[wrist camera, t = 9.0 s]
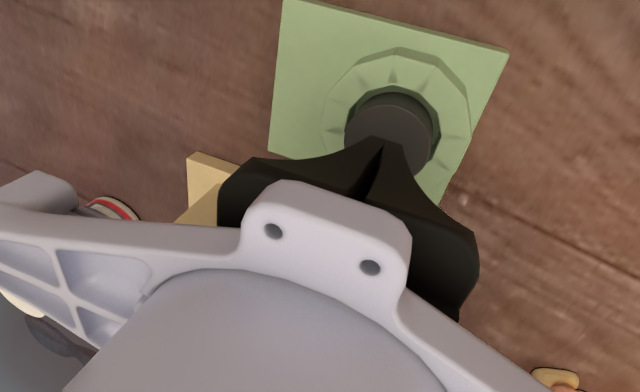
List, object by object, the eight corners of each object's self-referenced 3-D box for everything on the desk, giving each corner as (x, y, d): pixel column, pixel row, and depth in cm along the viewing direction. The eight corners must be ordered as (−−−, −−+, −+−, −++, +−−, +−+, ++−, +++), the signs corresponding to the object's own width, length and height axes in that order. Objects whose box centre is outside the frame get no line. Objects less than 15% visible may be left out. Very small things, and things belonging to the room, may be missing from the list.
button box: (507, 48, 15) (516, 64, 13) (438, 196, 20) (434, 227, 17) (292, -6, 17) (265, -2, 14) (275, 142, 21) (252, 164, 19)
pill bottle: (96, 183, 29) (-20, 253, 22) (150, 218, 29) (52, 299, 22) (92, 222, 32) (-11, 294, 25) (141, 253, 32) (52, 334, 25)
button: (446, 105, 15) (444, 119, 13) (417, 176, 17) (413, 195, 15) (363, 81, 15) (354, 92, 14) (345, 153, 17) (335, 169, 16)
